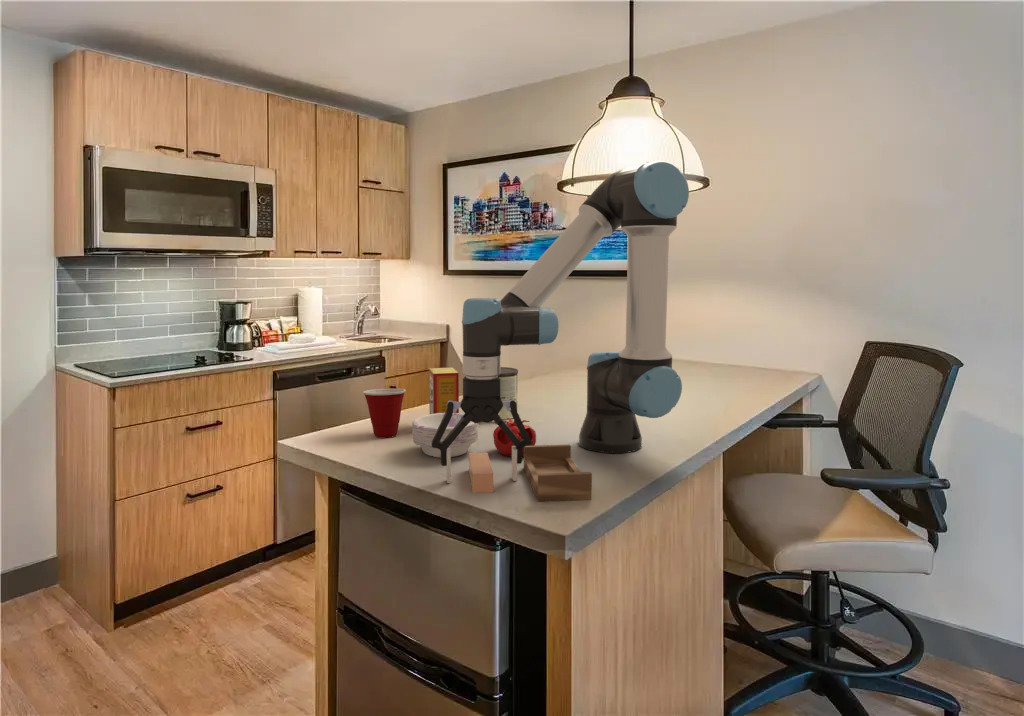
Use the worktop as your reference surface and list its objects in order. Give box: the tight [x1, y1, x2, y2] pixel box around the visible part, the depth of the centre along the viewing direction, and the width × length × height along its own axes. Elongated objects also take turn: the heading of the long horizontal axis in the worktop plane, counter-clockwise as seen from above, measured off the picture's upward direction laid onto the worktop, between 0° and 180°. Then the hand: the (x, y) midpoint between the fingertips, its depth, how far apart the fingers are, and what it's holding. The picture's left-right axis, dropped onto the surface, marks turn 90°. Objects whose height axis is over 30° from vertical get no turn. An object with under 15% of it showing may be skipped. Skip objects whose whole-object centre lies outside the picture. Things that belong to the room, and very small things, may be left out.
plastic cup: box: [362, 388, 407, 438], centre depth 165 cm, size 11×11×12 cm
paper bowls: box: [411, 412, 479, 458], centre depth 151 cm, size 15×15×8 cm
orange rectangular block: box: [468, 452, 494, 494], centre depth 132 cm, size 14×4×4 cm, turn 7°
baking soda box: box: [428, 367, 460, 414], centre depth 173 cm, size 10×6×16 cm
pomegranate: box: [492, 413, 537, 457], centre depth 151 cm, size 10×10×9 cm
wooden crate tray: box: [523, 444, 593, 503], centre depth 130 cm, size 20×10×5 cm, turn 7°
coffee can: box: [490, 366, 519, 423], centre depth 184 cm, size 10×10×14 cm
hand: (481, 479), depth 132 cm, fingers open, 13 cm apart
